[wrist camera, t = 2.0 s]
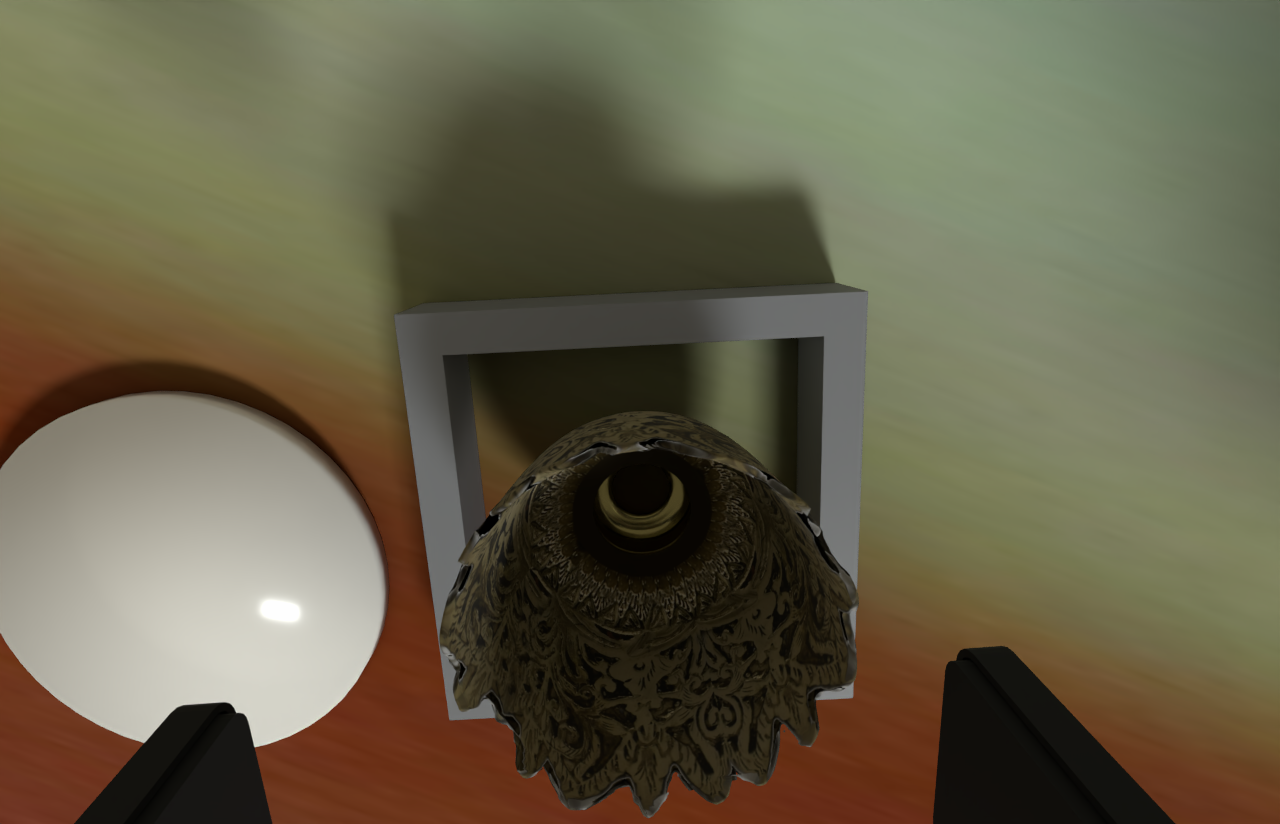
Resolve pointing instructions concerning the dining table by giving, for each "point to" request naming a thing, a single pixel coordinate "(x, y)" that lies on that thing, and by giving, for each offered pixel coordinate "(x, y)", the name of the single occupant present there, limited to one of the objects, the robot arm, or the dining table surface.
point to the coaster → (187, 565)
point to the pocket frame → (454, 329)
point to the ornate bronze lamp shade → (649, 616)
